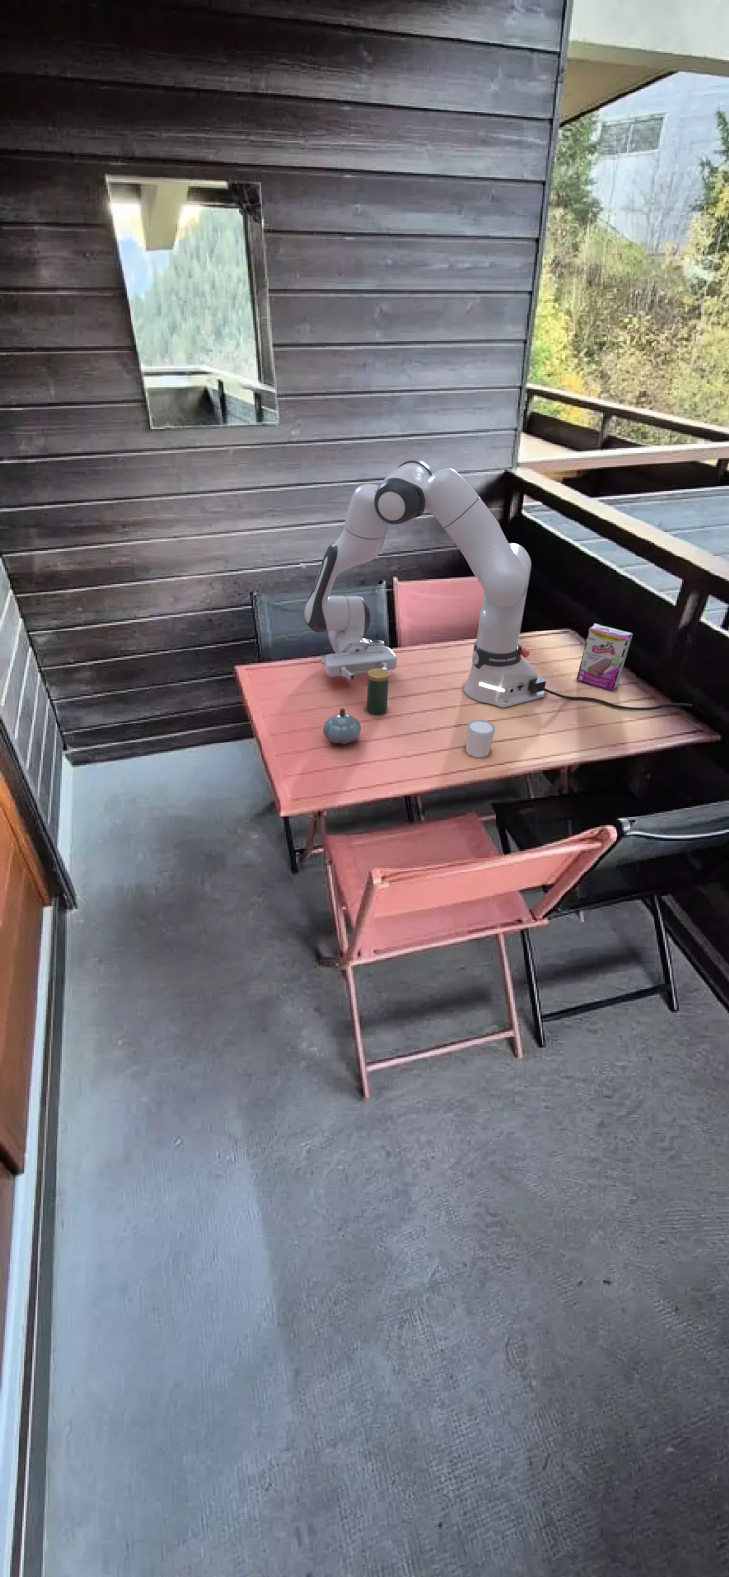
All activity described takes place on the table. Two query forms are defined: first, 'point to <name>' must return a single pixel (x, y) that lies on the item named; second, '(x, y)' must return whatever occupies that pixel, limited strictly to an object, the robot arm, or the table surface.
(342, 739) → the pumpkin
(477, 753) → the white cup
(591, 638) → the candy bar box
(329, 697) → the table surface
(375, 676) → the tea tin
